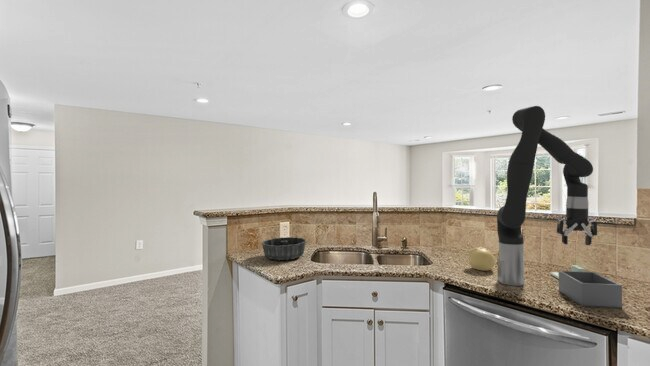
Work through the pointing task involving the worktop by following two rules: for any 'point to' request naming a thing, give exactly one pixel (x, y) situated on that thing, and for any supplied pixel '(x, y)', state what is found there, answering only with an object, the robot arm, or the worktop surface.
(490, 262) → the sculpture
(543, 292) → the worktop surface
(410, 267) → the worktop surface
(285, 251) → the bundt pan
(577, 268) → the lid
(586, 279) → the tub
